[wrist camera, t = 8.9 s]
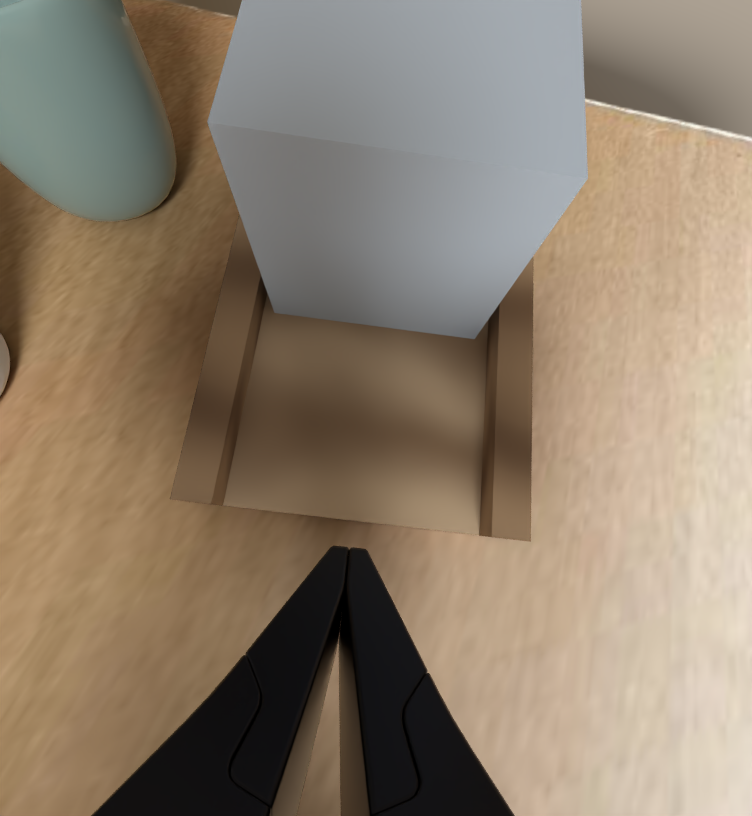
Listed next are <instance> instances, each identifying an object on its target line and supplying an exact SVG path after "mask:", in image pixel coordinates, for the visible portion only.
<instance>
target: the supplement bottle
mask: <svg viewBox="0 0 752 816" xmlns="http://www.w3.org/2000/svg"><path fill="white" fill-rule="evenodd" d="M9 370H10V356H9V350H8V347H7V344H6V342H5V340H4V338H3V336H2V335H1V333H0V396H1V394H2V392H3V390H4V388H5V385H6V383H7V379H8V375H9Z"/></svg>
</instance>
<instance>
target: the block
mask: <svg viewBox="0 0 752 816" xmlns="http://www.w3.org/2000/svg"><path fill="white" fill-rule="evenodd" d="M583 67H584V66H583V41H582V13H581V0H242V3H241V7H240V10H239V14H238V17H237V20H236V24H235V27H234V31H233V34H232V38H231V41H230V45H229V48H228V52H227V55H226V59H225V62H224V66H223V69H222V73H221V76H220V80H219V83H218V87H217V90H216V94H215V97H214V101H213V104H212V108H211V111H210V115H209V118H208V122H207V123H208V126H209V129H210V131H211V134H212V137H213V140H214V143H215V146H216V148H217V151H218V154H219V157H220V160H221V163H222V165H223V168H224V171H225V174H226V177H227V180H228V182H229V185H230V188H231V191H232V194H233V197H234V200H235V202H236V205H237V208H238V211H239V214H240V217H241V219H242V222H243V225H244V228H245V231H246V234H247V236H248V239H249V242H250V245H251V248H252V251H253V253H254V256H255V259H256V262H257V265H258V268H259V270H260V273H261V276H262V279H263V282H264V285H265V287H266V290H267V293H268V296H269V299H270V302H271V305H272V307H273V310H274V313H279V314H287V315H294V316H302V317H309V318H317V319H325V320H332V321H340V322H348V323H355V324H363V325H370V326H378V327H386V328H393V329H401V330H409V331H416V332H424V333H431V334H439V335H447V336H454V337H462V338H469V339H475V338H476V336H477V335H478V333H479V332H480V331H481V329H482V328H483V326H484V325H485V324H486V322H487V321H488V319H489V318H490V316H491V315H492V314H493V312H494V311H495V309H496V308H497V307H498V305H499V304H500V302H501V301H502V299H503V298H504V297H505V295H506V294H507V292H508V291H509V289H510V288H511V287H512V285H513V284H514V282H515V281H516V280H517V278H518V277H519V275H520V274H521V272H522V271H523V270H524V268H525V267H526V265H527V264H528V263H529V261H530V260H531V258H532V257H533V255H534V254H535V253H536V251H537V250H538V248H539V247H540V246H541V244H542V243H543V241H544V240H545V238H546V237H547V236H548V234H549V233H550V231H551V230H552V228H553V227H554V226H555V224H556V223H557V221H558V220H559V219H560V217H561V216H562V214H563V213H564V211H565V210H566V209H567V207H568V206H569V204H570V203H571V202H572V200H573V199H574V197H575V196H576V194H577V193H578V192H579V190H580V189H581V187H582V186H583V185H584V183H585V182H586V180H587V179H588V170H587V144H586V118H585V95H584V94H585V92H584V68H583Z"/></svg>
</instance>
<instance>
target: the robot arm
mask: <svg viewBox="0 0 752 816" xmlns="http://www.w3.org/2000/svg"><path fill="white" fill-rule="evenodd" d="M348 554H349V556H348ZM341 615H342V616H341ZM340 624H341V625H340ZM339 632H340V635H339ZM338 639H339V712H340V796H341V816H515V815H514V814H513V812H512V811H511V809H510V808H509V806H508V804H507V803H506V801H505V800H504V798H503V797H502V795H501V794H500V792H499V790H498V789H497V787H496V786H495V784H494V783H493V781H492V780H491V778H490V776H489V775H488V773H487V772H486V770H485V769H484V767H483V766H482V764H481V762H480V761H479V759H478V758H477V756H476V755H475V753H474V752H473V750H472V748H471V747H470V745H469V743H468V742H467V740H466V739H465V737H464V735H463V734H462V732H461V730H460V729H459V727H458V725H457V724H456V722H455V721H454V719H453V717H452V715H451V713H450V712H449V710H448V708H447V706H446V704H445V702H444V701H443V699H442V697H441V695H440V693H439V691H438V689H437V687H436V685H435V683H434V681H433V679H432V677H431V675H430V674H429V673H427V668H426V666H425V664H424V662H423V660H422V658H421V656H420V654H419V652H418V650H417V648H416V646H415V644H414V642H413V640H412V639H411V637H410V635H409V633H408V631H407V629H406V627H405V625H404V623H403V621H402V619H401V617H400V615H399V613H398V611H397V609H396V607H395V605H394V603H393V601H392V599H391V597H390V595H389V593H388V591H387V589H386V587H385V585H384V583H383V581H382V579H381V577H380V575H379V573H378V571H377V569H376V567H375V565H374V563H373V561H372V559H371V557H370V555H369V553H368V551H367V550H366V549H361V548H350V550H349V549H348V548H347V547H342V546H332V547H331V548H330V549H329V550H328V551H327V552H326V554H325V555H324V556H323V557H322V559H321V560H320V561H319V562H318V564H317V565H316V566H315V567H314V569H313V570H312V571H311V572H310V574H309V575H308V576H307V577H306V579H305V580H304V581H303V582H302V583H301V585H300V586H299V587H298V588H297V590H296V591H295V592H294V593H293V595H292V596H291V597H290V598H289V600H288V601H287V602H286V603H285V605H284V606H283V607H282V608H281V610H280V611H279V612H278V613H277V615H276V616H275V617H274V618H273V619H272V621H271V622H270V623H269V624H268V626H267V627H266V628H265V629H264V631H263V632H262V633H261V634H260V636H259V637H258V638H257V639H256V641H255V642H254V643H253V644H252V646H251V647H250V648H249V649H248V650H247V652H246V655H243V656H242V657H241V658H240V660H239V661H238V662H237V663H236V665H235V666H234V667H233V668H232V670H231V671H230V672H229V673H228V674H227V676H226V677H225V678H224V679H223V680H222V681H221V683H220V684H219V685H218V686H217V687H216V688H215V690H214V691H213V692H212V693H211V694H210V695H209V696H208V698H207V699H206V700H205V701H204V702H203V703H202V704H201V705H200V706H199V707H198V708H197V709H196V710H195V711H194V712H193V713H192V714H191V715H190V716H189V718H188V719H187V720H186V721H185V722H184V723H183V724H182V725H181V726H180V727H179V728H178V729H177V730H176V731H175V732H174V733H173V734H172V735H171V736H170V737H169V738H168V739H167V740H166V741H165V742H164V743H163V744H162V745H161V746H160V747H159V748H158V749H157V750H156V751H155V752H154V753H153V754H152V755H151V756H150V757H149V758H148V759H147V760H146V761H145V762H144V763H143V764H142V765H141V766H140V767H139V768H138V769H137V770H136V771H135V772H134V773H133V774H132V775H131V776H130V777H129V778H128V779H127V780H126V781H125V782H124V783H123V784H122V785H121V786H120V787H119V788H118V789H117V790H116V791H115V792H114V793H113V794H112V795H111V796H110V797H109V798H108V799H107V800H106V801H105V802H104V803H103V804H102V805H101V806H100V807H99V808H98V809H97V810H96V811H95V812H94V813H93V814H92V815H91V816H297V811H298V807H299V803H300V799H301V795H302V791H303V787H304V782H305V778H306V774H307V770H308V766H309V762H310V757H311V753H312V749H313V745H314V741H315V737H316V733H317V728H318V724H319V720H320V716H321V712H322V708H323V703H324V699H325V695H326V691H327V687H328V683H329V679H330V674H331V670H332V666H333V662H334V658H335V654H336V649H337V644H338Z"/></svg>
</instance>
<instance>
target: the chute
mask: <svg viewBox="0 0 752 816" xmlns="http://www.w3.org/2000/svg"><path fill="white" fill-rule="evenodd" d="M532 347H533V257H532V258H531V260H530V261H529V263H528V264H527V265H526V267H525V268H524V270H523V271H522V272H521V274H520V275H519V277H518V278H517V280H516V281H515V282H514V284H513V285H512V287H511V288H510V289H509V291H508V292H507V294H506V295H505V297H504V298H503V299H502V301H501V302H500V304H499V305H498V307H497V308H496V309H495V311H494V312H493V314H492V315H491V316H490V318H489V319H488V321H487V322H486V324H485V325H484V326H483V328H482V329H481V331H480V332H479V333H478V335H477V336H476V338H475V339H469V338H462V337H454V336H447V335H439V334H431V333H424V332H416V331H409V330H401V329H393V328H386V327H378V326H370V325H363V324H355V323H348V322H340V321H332V320H325V319H317V318H309V317H302V316H294V315H287V314H279V313H274V310H273V307H272V305H271V302H270V299H269V296H268V293H267V290H266V287H265V285H264V282H263V279H262V276H261V273H260V270H259V268H258V265H257V262H256V259H255V256H254V253H253V251H252V248H251V245H250V242H249V239H248V236H247V234H246V231H245V228H244V225H243V222H242V219H241V217H240V214H239V218H238V222H237V226H236V230H235V234H234V238H233V242H232V246H231V250H230V255H229V259H228V263H227V267H226V271H225V275H224V279H223V283H222V287H221V291H220V296H219V300H218V304H217V308H216V312H215V316H214V320H213V324H212V328H211V332H210V337H209V341H208V345H207V349H206V353H205V357H204V361H203V365H202V369H201V374H200V378H199V382H198V386H197V390H196V394H195V398H194V402H193V406H192V410H191V415H190V419H189V423H188V427H187V431H186V435H185V439H184V443H183V447H182V451H181V456H180V460H179V464H178V468H177V472H176V476H175V480H174V484H173V488H172V492H171V497H170V499H171V500H180V501H188V502H197V503H205V504H214V505H223V506H231V507H240V508H248V509H257V510H266V511H274V512H283V513H291V514H300V515H308V516H317V517H325V518H334V519H342V520H351V521H360V522H368V523H377V524H385V525H394V526H402V527H411V528H419V529H428V530H437V531H445V532H454V533H462V534H471V535H479V536H488V537H496V538H505V539H513V540H522V541H530V542H531V453H532Z"/></svg>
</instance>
